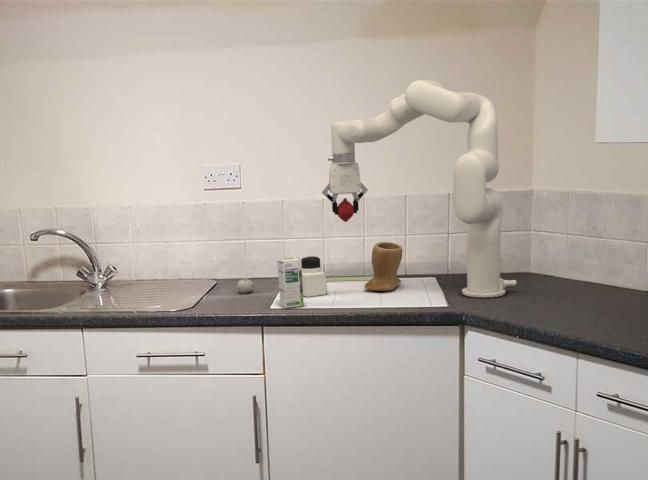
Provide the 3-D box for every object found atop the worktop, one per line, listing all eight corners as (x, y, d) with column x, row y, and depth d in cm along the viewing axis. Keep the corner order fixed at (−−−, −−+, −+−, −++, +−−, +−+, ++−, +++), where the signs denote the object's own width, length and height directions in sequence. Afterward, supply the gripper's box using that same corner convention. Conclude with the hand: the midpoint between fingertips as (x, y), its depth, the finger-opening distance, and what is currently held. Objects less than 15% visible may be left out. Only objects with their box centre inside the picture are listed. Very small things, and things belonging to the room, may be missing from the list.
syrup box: (285, 308, 224) (283, 260, 221) (279, 304, 230) (277, 257, 227) (303, 306, 226) (301, 258, 223) (297, 302, 231) (295, 255, 228)
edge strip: (373, 276, 266) (373, 276, 266) (373, 280, 260) (373, 279, 260) (316, 278, 269) (316, 277, 269) (315, 281, 263) (315, 280, 263)
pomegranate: (353, 222, 252) (353, 198, 250) (336, 223, 253) (335, 199, 251) (355, 220, 257) (354, 196, 256) (337, 221, 259) (337, 197, 257)
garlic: (252, 294, 247) (251, 278, 246) (236, 295, 248) (235, 279, 247) (254, 290, 253) (253, 275, 252) (238, 291, 254) (237, 276, 253)
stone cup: (397, 294, 235) (396, 246, 232) (360, 292, 241) (359, 245, 238) (410, 284, 249) (409, 239, 246) (375, 283, 254) (374, 239, 251)
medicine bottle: (327, 294, 241) (325, 257, 238) (306, 297, 238) (305, 259, 236) (317, 290, 247) (315, 254, 245) (297, 293, 245) (295, 256, 242)
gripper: (319, 161, 247) (321, 216, 251) (371, 157, 248) (373, 213, 251) (316, 160, 255) (318, 214, 258) (367, 157, 255) (368, 211, 259)
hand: (345, 213), depth 255 cm, fingers closed on pomegranate, 5 cm apart
